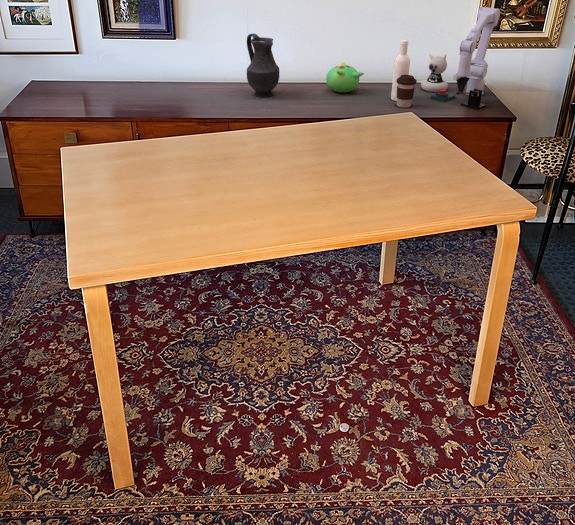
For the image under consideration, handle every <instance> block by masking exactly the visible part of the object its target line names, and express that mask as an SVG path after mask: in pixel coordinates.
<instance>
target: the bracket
mask: <svg viewBox="0 0 575 525" xmlns="http://www.w3.org/2000/svg"><path fill="white" fill-rule="evenodd" d="M477 91H479V96H478V92H477ZM482 91H483V92H484V89H483V90H479V89H474V91H473V90H470V92H469V95H468V97H467V98H468V99H467V101H463V102H461V103H460V106H462V107H466V108H469V109H473V110H477V111H478V110H481V109H484V108H487V104H485V103H481V101H482V95H483V94H482Z"/></svg>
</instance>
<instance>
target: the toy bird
mask: <svg viewBox="0 0 575 525" xmlns="http://www.w3.org/2000/svg"><path fill="white" fill-rule="evenodd" d="M363 75H365V72H364V71H358V70H357V69H356V68H355V67H353V66H351V65H347V64H346V63H345V62H341V63H340V64H339V65H335V66H333V67H332V68H331V69H329V70H328V72H327V73H326V76H325V77H326V78H325V82H326V84H327V87H328V88H329V89H330V90H332V91H333V92H336V93H348V92H351V91H354V90H355V89H356V88H357V87H358V85H359V84H360V80H361V78H360V77H362V76H363Z"/></svg>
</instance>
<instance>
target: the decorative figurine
mask: <svg viewBox="0 0 575 525" xmlns="http://www.w3.org/2000/svg"><path fill="white" fill-rule="evenodd" d="M447 55H448V54H445V55H444V56H441V55H436V56H434V55H432V54H429V59H430V61H429V63H428V64H429V65H428V69H429V71H430V74H429V76H428V77H427V78H425V79H423V80H422V81H421V82H420V87H421V89H422V90H423V91H425V92H429V93H436V92H437V91H439V90H440V89H445V90H446V91H447V90H448V88H449V83H448V82H447V81H446V80H444V79H443V76H442V74H443V73H444V72H446V70H447V67H448V62H447V60H446V59H447Z"/></svg>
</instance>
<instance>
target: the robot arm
mask: <svg viewBox="0 0 575 525" xmlns="http://www.w3.org/2000/svg"><path fill="white" fill-rule="evenodd" d="M500 17H501V11H500V9H499V8H498V7H497V8H494V7H487V6H480V7H479V8H478V11H477V21H476V23H475V25H474V27H473V28H471V29H470V31H469V32H468V34H467V36H466V37H465V39H463V40H462V41H461V42H460V44H459V56H460V57H459V63H458V68H457V73H456V74H454V75H453V78H452V79H453V81H456V85H457V91H458V92H463V91H464V90H465V89H466V90H465V92H470V90H473V91H474V89H479V90H483V91H482V95H485V92H484V88H485V84H486V83H485V77H486V76H487V73H488V66H489V64H488V62H487V61H486V60H485V58H486V54H487V51H488V48H489V44H490V39H491V36H492V33H493V31H494V28H495V27H497V26H498V23H499V19H500ZM477 43H478V45H477ZM476 47H477V49H476ZM475 50H476V52H475ZM474 52H475V55H474V57H473V53H474ZM464 95H465V96H469V95H468V94H464Z"/></svg>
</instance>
